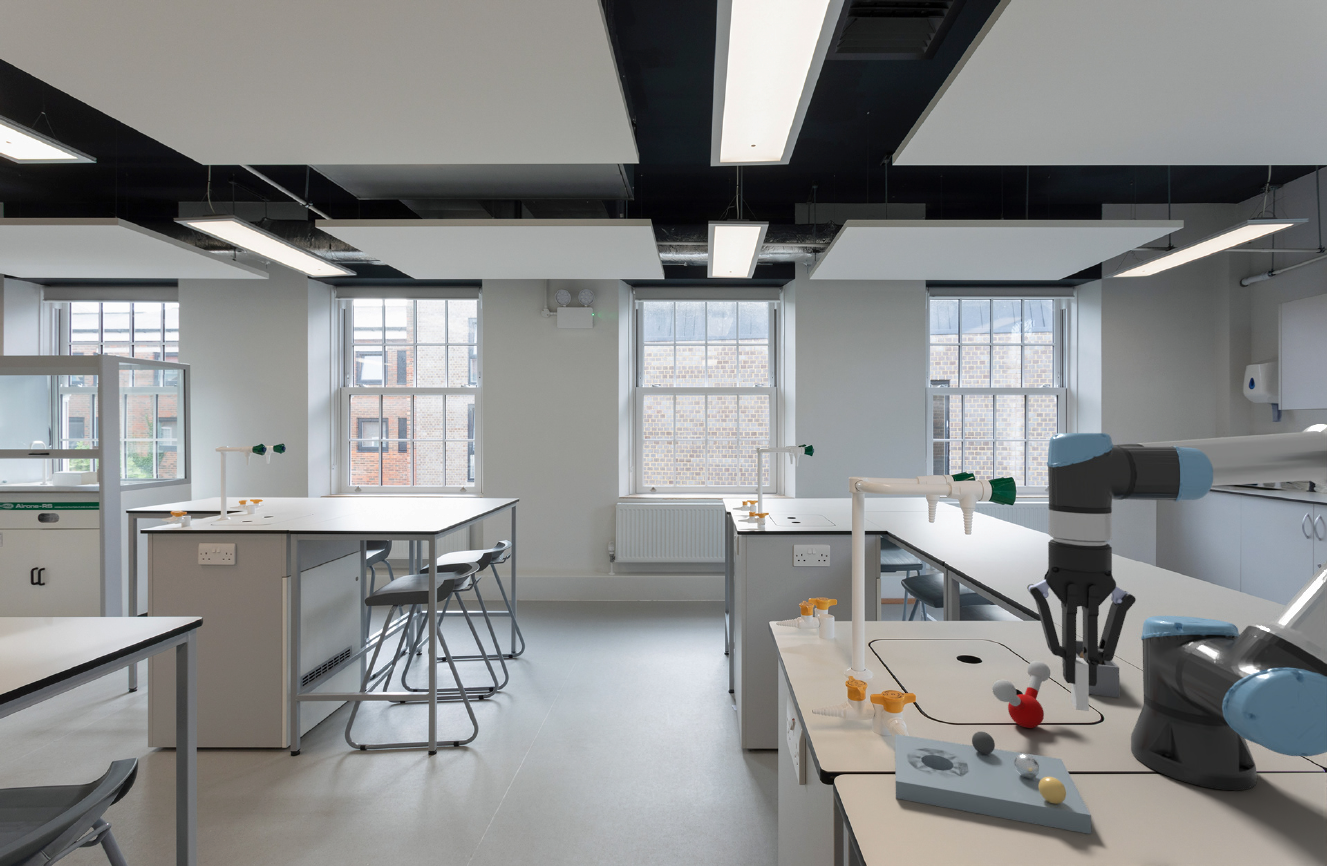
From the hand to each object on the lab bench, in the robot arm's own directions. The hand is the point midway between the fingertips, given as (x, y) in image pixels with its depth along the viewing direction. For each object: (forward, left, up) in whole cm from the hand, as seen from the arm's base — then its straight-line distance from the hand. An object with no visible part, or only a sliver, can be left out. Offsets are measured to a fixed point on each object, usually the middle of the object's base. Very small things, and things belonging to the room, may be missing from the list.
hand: (1079, 706), depth 88 cm
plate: (+13, 0, -14) cm, 19 cm away
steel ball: (+7, 0, -10) cm, 12 cm away
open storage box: (-14, -52, -14) cm, 56 cm away
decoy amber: (+5, +6, -10) cm, 12 cm away
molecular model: (+3, -24, -14) cm, 28 cm away
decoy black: (+12, -6, -10) cm, 16 cm away
